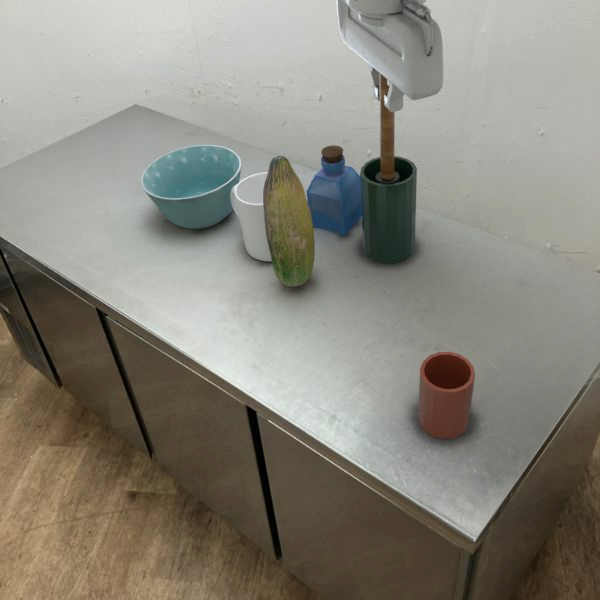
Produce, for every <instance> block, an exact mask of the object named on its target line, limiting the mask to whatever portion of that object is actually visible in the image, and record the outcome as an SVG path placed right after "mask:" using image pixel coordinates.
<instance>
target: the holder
mask: <svg viewBox="0 0 600 600" xmlns="http://www.w3.org/2000/svg"><path fill="white" fill-rule="evenodd" d="M475 378H476V372H475V367H474V365H473V364H472V362H471V361H470V360H469V359H468V358H466V357H464V356H463V355H462V354H460V353H456V352H453V351H438V352H435V353H433V354H429V355H428V356H427V357H426V358H425V359H423V361H422V362H421V365H420V367H419V388H418V409H417V410H418V422H419V425H420V427H421V428H422V431H424V432H425V433H426V434H428V435H429V436H431V437H434V438H435V439H440V440H451V439H455V438H458V437H459V436H461V435H463V433H464V432H466V430H467V428H468V426H469V422H470V417H471V409H472V403H473V395H474V387H475V380H476V379H475Z"/></svg>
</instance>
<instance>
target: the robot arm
mask: <svg viewBox="0 0 600 600" xmlns="http://www.w3.org/2000/svg"><path fill="white" fill-rule="evenodd" d="M427 1H428V0H336V1H335V2H336V12H337V13H336V14H337V21H338V29H339V33H340V37H341V39H342V42H343V44H344V45H346V46H347V47H348V48H349V49H350V50H351V51H353V52H354V53H355V54H357V56H358V57H360V58H361V59H362V60H364V61H365V62H366V63H367V71H368V74H369V77H370V80H371V84H372V96H373V98H375V99H376V100H377V101H378V102H379V103H380V84H379V73H380V74H381V75H383V76H384V77H385V78H386V79H387V85H388V86H389V91H388V94H385V95H384V101H385V103H384V106H385V107H386V108H387V109H388V110H389V111H390V112H395V113H396V112H399V111H401V110H402V109H403V108H404V96H406V97H407V98H409V99H410V100H412V101H417V100H422V99H425V98H430V97H432V96H436V95H438V94H439V93H440V92H441V90H442V88H443V86H444V46H443V44H444V43H443V36H442V31H441V27H440V25H439V23H438V22H437V21H436V20H435V19H434V18H433V17H432V15H431V13H432V12H431V9H430V8H429V7H428V6H427V5H425V3H426V2H427Z"/></svg>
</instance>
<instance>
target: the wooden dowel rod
mask: <svg viewBox="0 0 600 600" xmlns="http://www.w3.org/2000/svg"><path fill="white" fill-rule="evenodd" d="M379 84H380V102H379V137H380V138H379V144H380V145H379V151H380V153H379V157H380V161H381V171H380V172H379V173H377V174H376V176H375V181H376V183H380V184H394V183H399V182H400V176H399V174H398V173H397V172H396V171H394V156H395V125H396V124H395V123H396V122H395V121H396V120H395V113H396V112H390V111H389V110H388V109H387V108H386V107H385V106H384V103H385V101H384V95H385V94H388V91H389V86H388V85H387V79H386V78H385V77H384V76H383V75H381V74H380V73H379Z"/></svg>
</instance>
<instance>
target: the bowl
mask: <svg viewBox="0 0 600 600" xmlns="http://www.w3.org/2000/svg"><path fill="white" fill-rule="evenodd" d="M241 173H242V159H241V157H240V155H239V154H238V153H237V152H235V151H234V150H232V149H230V148H228V147H225V146H223V145H222V146H221V145H216V144H215V145H214V144H196V145H189V146H185V147H180V148H177V149H174V150H171V151H169V152H167V153H165V154H163V155H161V156H159V157H158V158H156V159H155V160H153V161H152V162H151V163H150V164H149V165H148V166H146V168H145V169H144V170H143V172H142V174H141V177H140V185H141V187H142V189H143V191H144V193H145V194H146V195H147V196H148V197H149V198H150V200H151V201H152V203H153V204H154V206H156V207H157V208H158V210H159V211H160V212H161V213H162V214H163V215H164V217H165V218H166V219H167V220H168V221H169V222H171V224H173V225H175V226H178V227H181V228H185V229H190V230H200V229H201V230H202V229H206V228H209V227H212V226H215V225H217V224H219V223H220V222H222V221H223V220H224V219H225V218H226V217H227V216H229V215H230V214H231V212H232V211H233V207H232V204H231V199H230V193H231V190H232V188H233V187H234V186H235V185H237V184H238V183H239V182H240V179H241Z"/></svg>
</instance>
